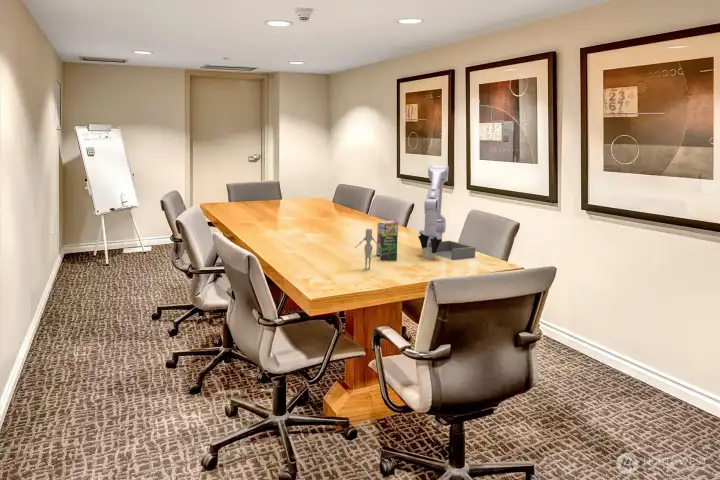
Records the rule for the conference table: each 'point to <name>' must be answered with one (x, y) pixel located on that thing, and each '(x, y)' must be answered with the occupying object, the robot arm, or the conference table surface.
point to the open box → (454, 250)
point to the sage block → (428, 253)
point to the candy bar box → (387, 228)
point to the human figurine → (368, 246)
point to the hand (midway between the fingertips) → (429, 251)
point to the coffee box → (388, 246)
